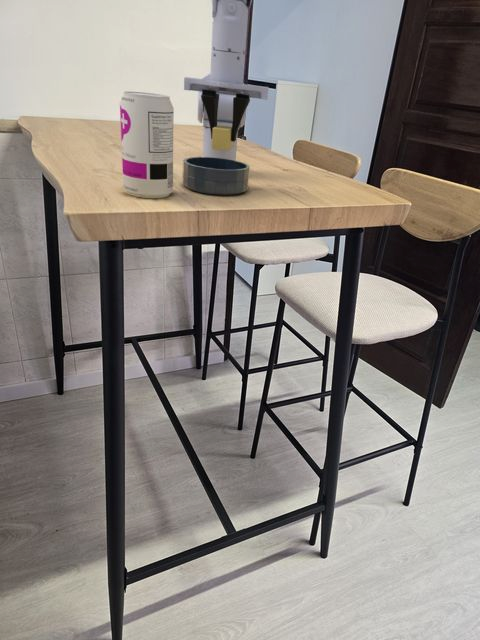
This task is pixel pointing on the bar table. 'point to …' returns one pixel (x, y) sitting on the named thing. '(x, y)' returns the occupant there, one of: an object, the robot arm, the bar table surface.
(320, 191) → the bar table surface
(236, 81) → the robot arm
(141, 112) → the supplement can
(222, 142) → the butter
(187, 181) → the bowl
